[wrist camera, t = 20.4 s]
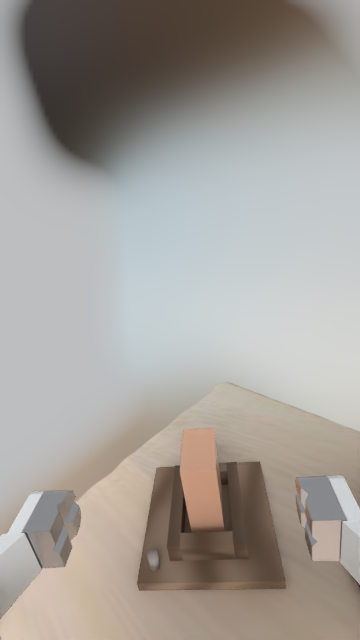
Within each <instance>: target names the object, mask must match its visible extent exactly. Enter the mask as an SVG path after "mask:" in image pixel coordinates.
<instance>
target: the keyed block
mask: <svg viewBox="0 0 360 640" xmlns="http://www.w3.org/2000/svg"><path fill="white" fill-rule="evenodd" d="M180 476H181V481H182V486H183V491H184V496H185V501H186V507H187V512H188V517H189V522H190V527H191V533H196V532H225V523H224V508H223V493H222V485H221V477H220V469H219V462H218V454H217V447H216V439H215V432H214V428H207V429H193V430H183V436H182V449H181V461H180Z"/></svg>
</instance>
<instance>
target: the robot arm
mask: <svg viewBox="0 0 360 640" xmlns="http://www.w3.org/2000/svg"><path fill="white" fill-rule="evenodd" d="M296 488H297V491H298V493H297V495H296V504H297V511H298V515H299V519H300V523H301V526H302V527H303V528H304V529H305V538H306V543H307V546H308V549H309V552H310V556H311V559H312V561H340V563H341V564H342V565H343V566H344V568H345V569H346V570H347V571H348V572H349V573H350V574H351V575H352V577H353V578H354V579H355V580H356V581H357V582H358V583H359V584H360V508H359V506H358V504H357V502H356V500H355V498H354V496H353V494H352V492H351V490H350V488H349V486H348V484H347V482H346V480H345V478H344V477H343V476H342V475H334V476H314V477H299V478H296ZM75 497H76V496H75V494H74V492H73V490H59V491H33V492H32V493H31V494H30V495H29V497H28V498H27V500H26V502H25V503H24V505H23V507H22V509H21V510H20V512H19V514H18V515H17V517H16V519H15V520H14V522H13V524H12V526H11V527H10V529H9V531H8V533H7V534H2V535H1V536H0V619H1V618H2V616H3V615H4V614H5V613H6V612H7V610H8V609H9V608H10V607H11V606H12V605H13V603H14V602H15V601H16V600H17V599H18V597H19V596H20V595H21V594H22V593H23V592H24V590H25V589H26V588H27V587H28V586H29V585H30V583H31V582H32V581H33V580H34V579H35V577H36V576H37V575H38V574H39V573H40V572H41V570H42V569H41V568H56V567H65V565H66V563H67V560H68V557H69V555H70V552H71V549H72V544H71V540H72V539H73V538H74V537H75V536H76V535H77V533H78V530H79V527H80V522H81V510H80V507H79V505H78V504H76V503H75V502H74V500H75ZM0 640H1V637H0Z"/></svg>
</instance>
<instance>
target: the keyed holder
mask: <svg viewBox="0 0 360 640" xmlns="http://www.w3.org/2000/svg"><path fill="white" fill-rule="evenodd" d="M219 469H220V477H221V485H222V493H223V508H224V523H225V532H196V533H191V527H190V522H189V517H188V512H187V507H186V501H185V496H184V491H183V486H182V481H181V476H180V466H175V467H161V468H156V474H155V480H154V486H153V492H152V498H151V504H150V510H149V516H148V522H147V528H146V534H145V540H144V546H143V552H142V558H141V564H140V570H139V576H138V582H137V585H138V588H139V590H200V589H272V588H286V585H285V577H284V573H283V568H282V563H281V559H280V554H279V549H278V545H277V540H276V535H275V531H274V526H273V521H272V517H271V512H270V507H269V503H268V498H267V493H266V489H265V484H264V479H263V475H262V470H261V465H260V462H246V463H237V462H231V463H219Z"/></svg>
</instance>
